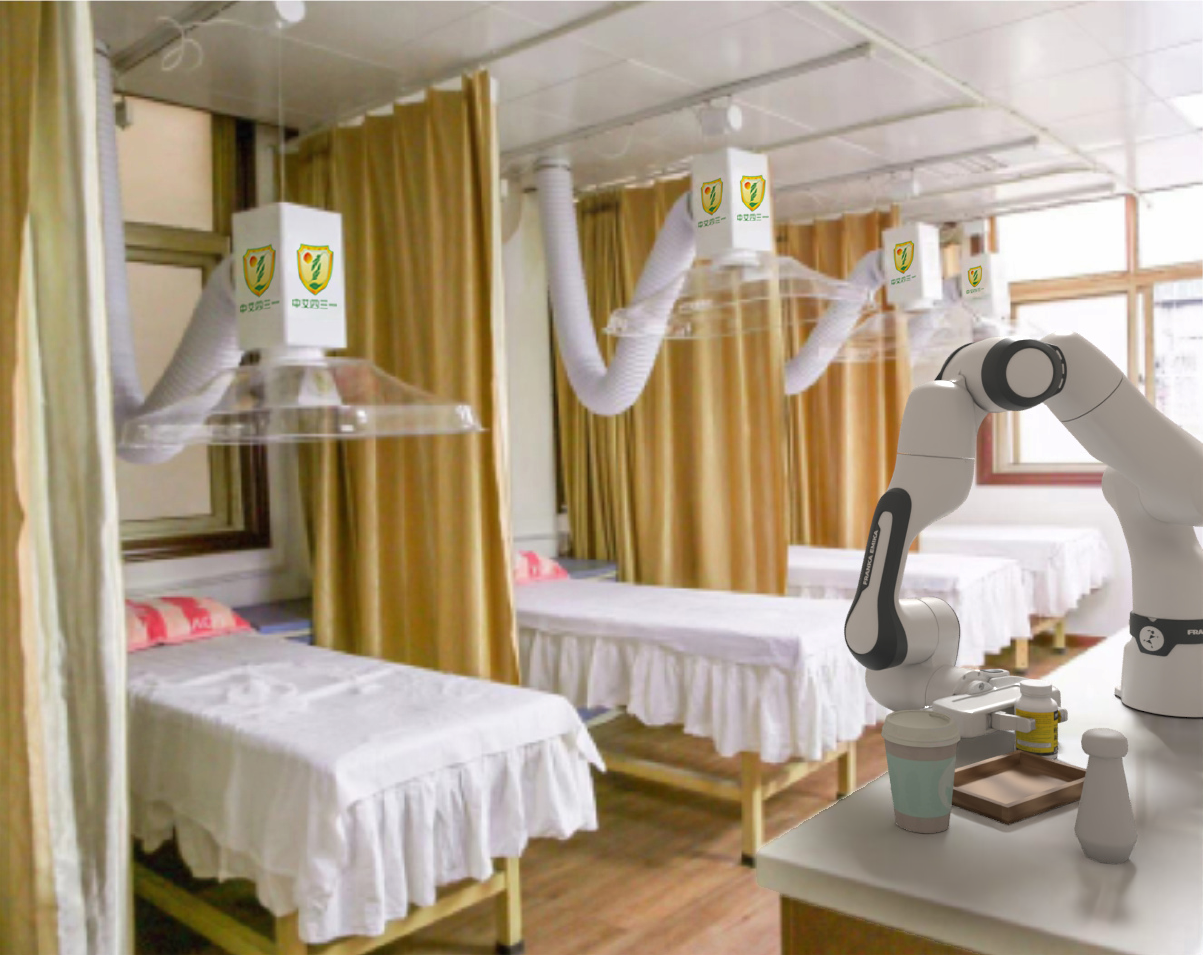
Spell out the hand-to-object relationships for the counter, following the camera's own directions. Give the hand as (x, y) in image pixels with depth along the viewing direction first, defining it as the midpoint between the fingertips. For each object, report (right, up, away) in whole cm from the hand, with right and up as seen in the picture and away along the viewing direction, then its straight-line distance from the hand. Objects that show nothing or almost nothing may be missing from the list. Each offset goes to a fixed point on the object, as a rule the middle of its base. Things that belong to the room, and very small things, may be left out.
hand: (1048, 721), depth 138 cm
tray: (-9, -6, -11) cm, 16 cm away
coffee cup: (-23, -7, -20) cm, 31 cm away
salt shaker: (-7, -7, -30) cm, 32 cm away
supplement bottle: (-1, -5, +2) cm, 6 cm away
